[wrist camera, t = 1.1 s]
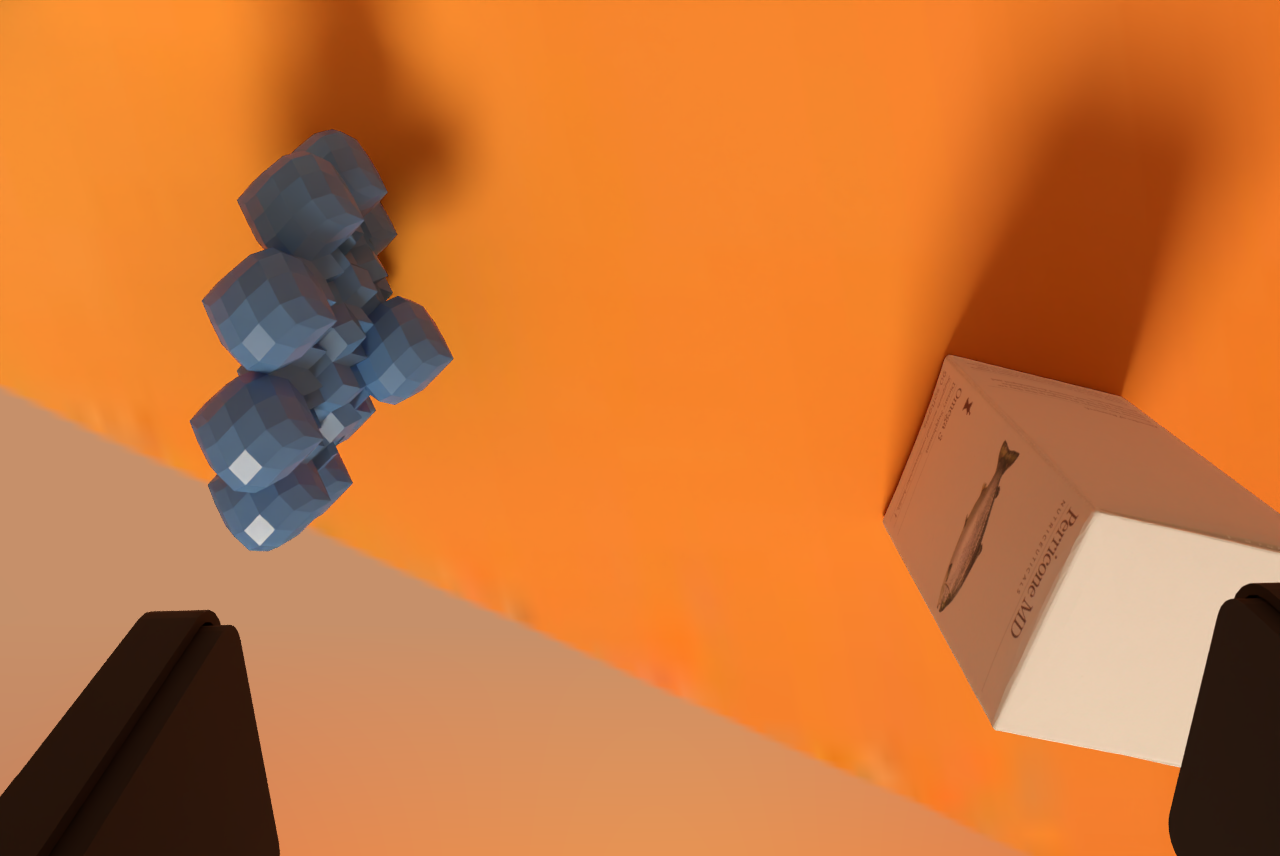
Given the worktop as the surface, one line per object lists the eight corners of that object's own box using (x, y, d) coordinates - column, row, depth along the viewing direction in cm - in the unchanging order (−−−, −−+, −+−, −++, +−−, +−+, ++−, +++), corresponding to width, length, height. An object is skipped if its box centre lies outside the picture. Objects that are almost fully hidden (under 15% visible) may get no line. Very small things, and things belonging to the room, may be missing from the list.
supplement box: (942, 347, 37) (1100, 500, 25) (1125, 394, 38) (1360, 562, 26) (873, 522, 39) (987, 734, 28) (1046, 562, 40) (1227, 783, 29)
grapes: (460, 457, 38) (400, 639, 27) (276, 431, 37) (137, 607, 26) (494, 140, 34) (440, 200, 22) (288, 105, 33) (126, 150, 22)
